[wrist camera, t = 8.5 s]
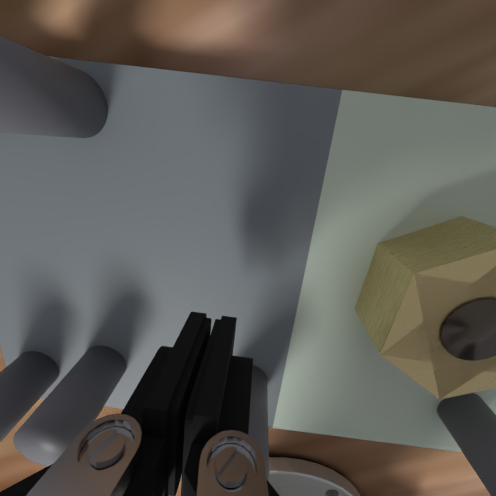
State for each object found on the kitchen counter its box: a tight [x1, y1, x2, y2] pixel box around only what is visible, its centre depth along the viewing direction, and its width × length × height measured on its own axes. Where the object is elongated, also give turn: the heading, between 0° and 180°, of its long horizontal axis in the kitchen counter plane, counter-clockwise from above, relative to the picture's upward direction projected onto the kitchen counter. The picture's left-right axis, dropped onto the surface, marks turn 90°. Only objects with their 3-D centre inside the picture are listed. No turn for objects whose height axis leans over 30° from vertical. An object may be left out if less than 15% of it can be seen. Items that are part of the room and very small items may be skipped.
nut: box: [354, 216, 496, 400], centre depth 11 cm, size 6×7×3 cm
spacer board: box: [0, 36, 496, 496], centre depth 11 cm, size 34×18×6 cm, turn 84°
